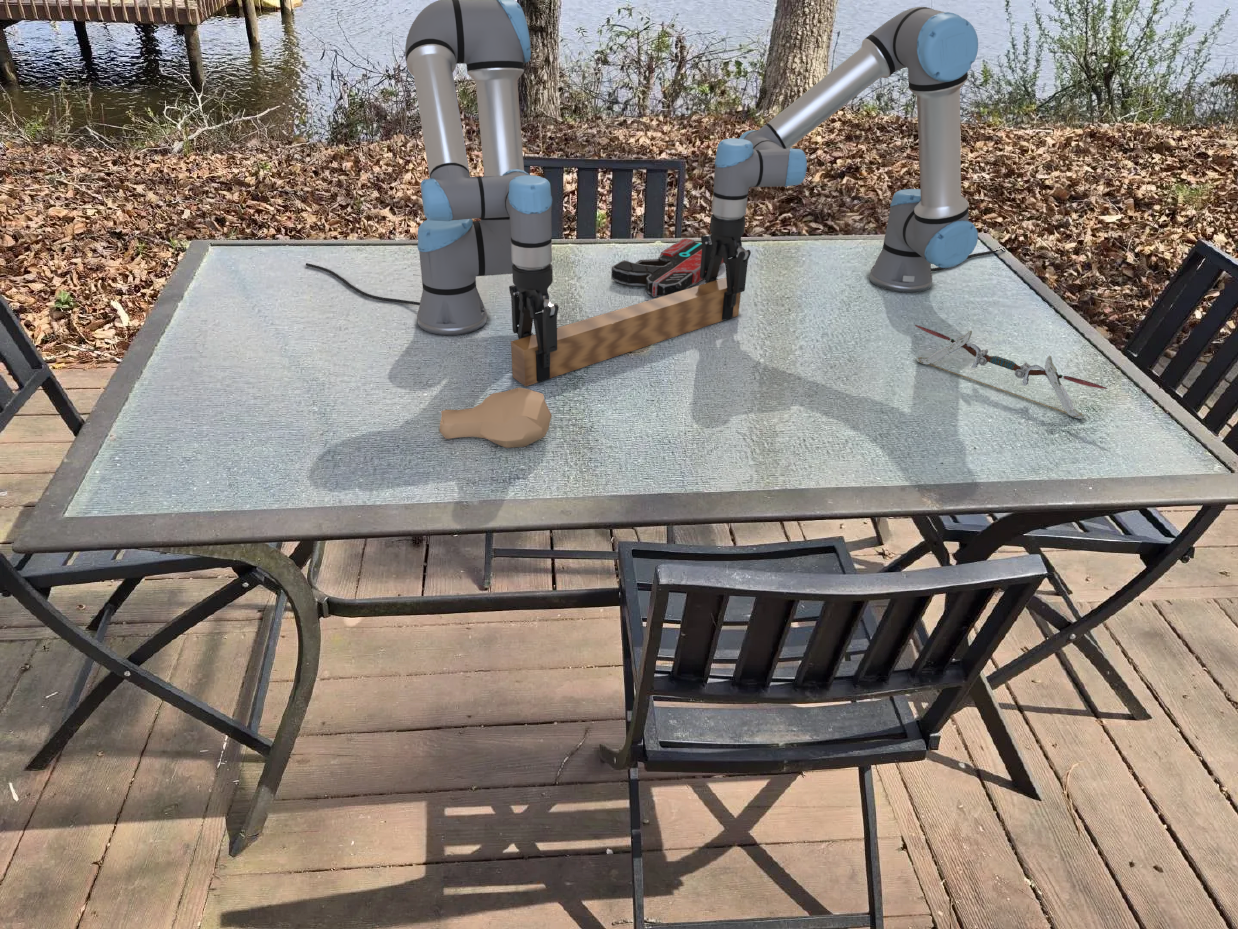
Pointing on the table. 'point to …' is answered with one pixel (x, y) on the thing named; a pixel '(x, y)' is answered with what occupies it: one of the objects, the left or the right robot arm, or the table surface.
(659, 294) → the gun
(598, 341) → the post
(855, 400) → the table surface
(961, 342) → the bow
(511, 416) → the squash
